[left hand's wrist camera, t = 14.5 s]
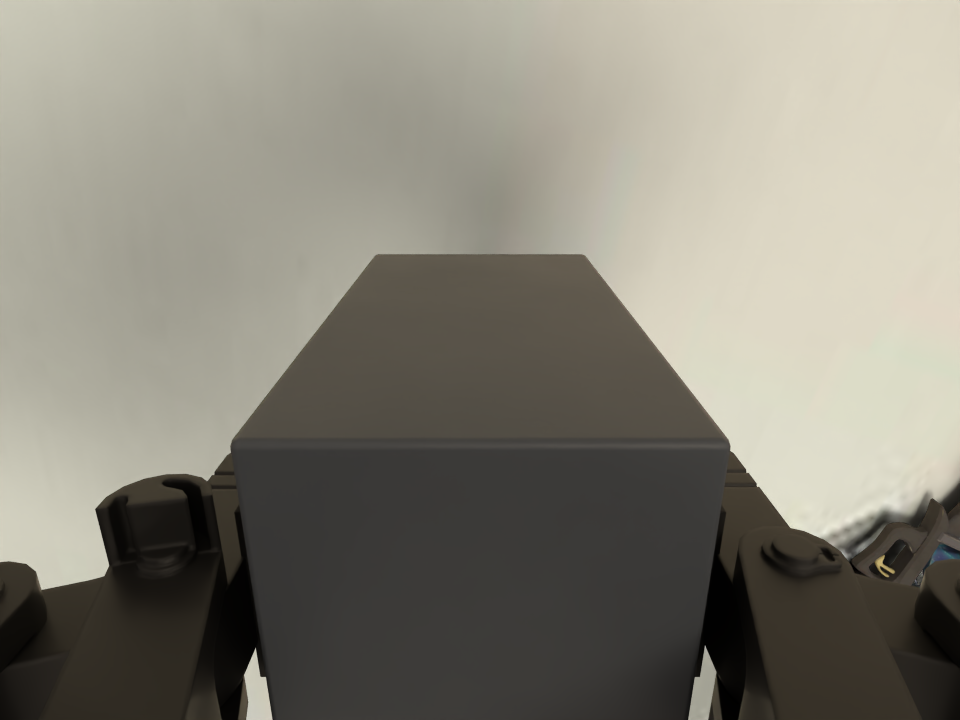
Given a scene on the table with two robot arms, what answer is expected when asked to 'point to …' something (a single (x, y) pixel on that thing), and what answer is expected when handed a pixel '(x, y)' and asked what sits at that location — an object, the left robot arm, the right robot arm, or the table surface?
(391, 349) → the bar
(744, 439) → the table surface
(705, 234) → the table surface
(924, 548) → the toy gun
